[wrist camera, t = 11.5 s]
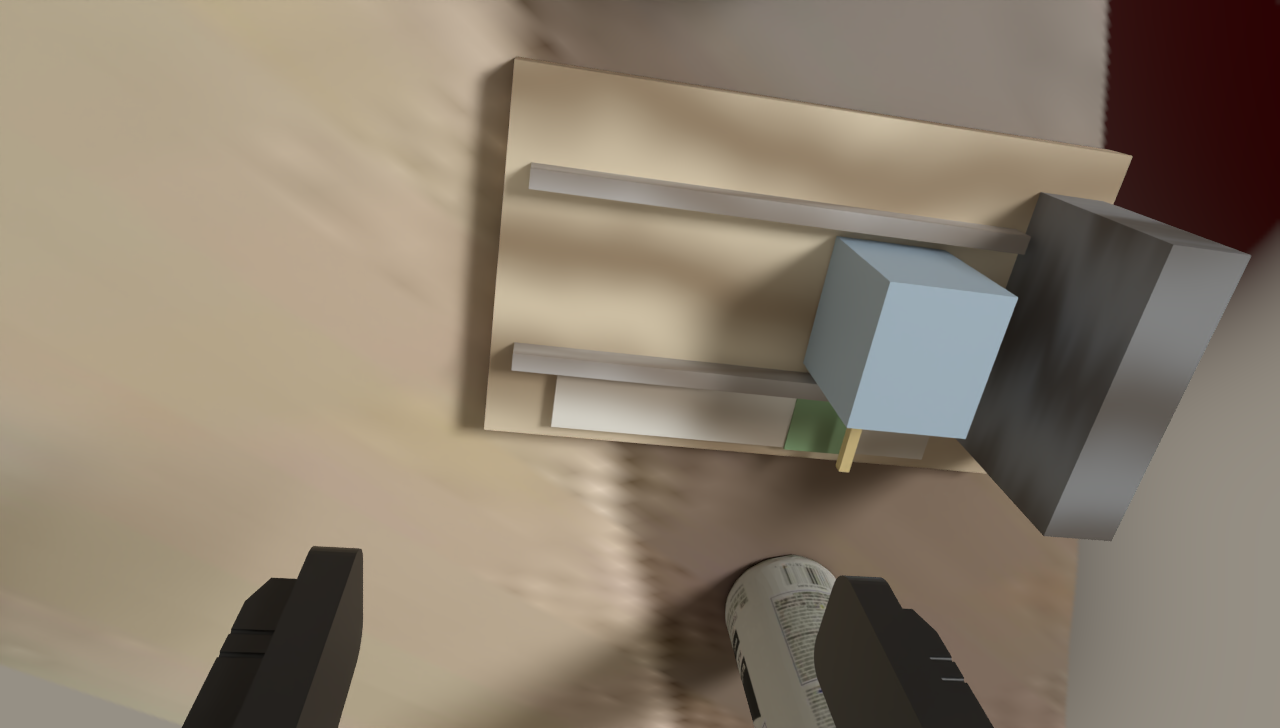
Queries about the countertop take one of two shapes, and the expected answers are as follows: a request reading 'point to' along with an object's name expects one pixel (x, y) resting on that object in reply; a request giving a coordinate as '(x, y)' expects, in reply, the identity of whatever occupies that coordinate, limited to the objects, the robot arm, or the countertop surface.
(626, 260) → the base
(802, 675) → the spray can
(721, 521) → the countertop surface
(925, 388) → the gauge slider
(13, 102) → the countertop surface
